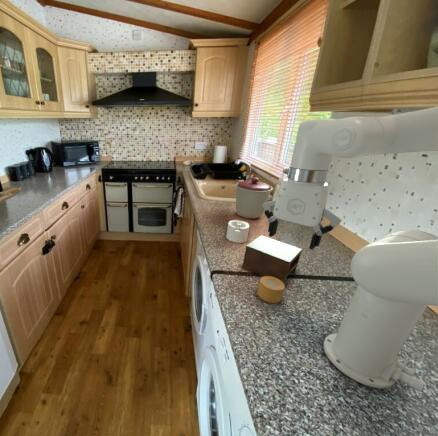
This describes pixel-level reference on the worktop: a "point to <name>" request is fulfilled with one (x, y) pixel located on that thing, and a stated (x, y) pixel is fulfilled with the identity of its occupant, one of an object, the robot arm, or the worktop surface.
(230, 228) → the white slotted cylinder
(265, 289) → the tape roll
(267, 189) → the canister
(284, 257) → the brown square pedestal
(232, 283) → the worktop surface
